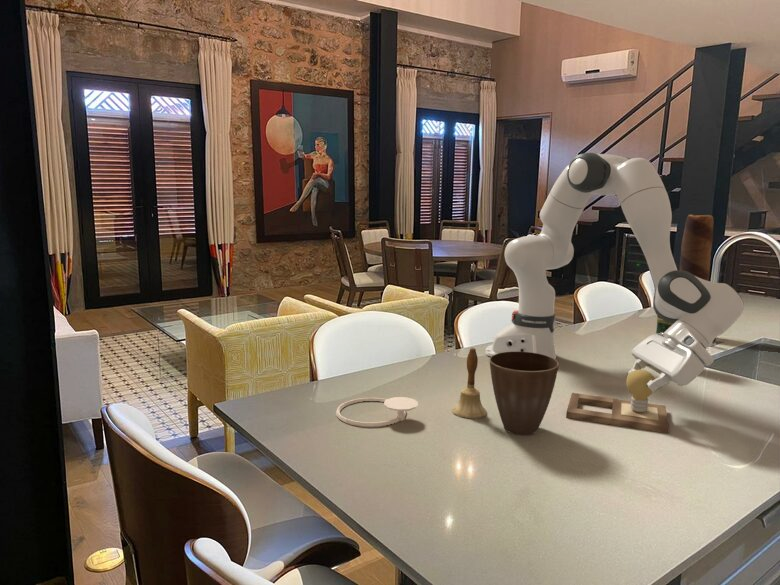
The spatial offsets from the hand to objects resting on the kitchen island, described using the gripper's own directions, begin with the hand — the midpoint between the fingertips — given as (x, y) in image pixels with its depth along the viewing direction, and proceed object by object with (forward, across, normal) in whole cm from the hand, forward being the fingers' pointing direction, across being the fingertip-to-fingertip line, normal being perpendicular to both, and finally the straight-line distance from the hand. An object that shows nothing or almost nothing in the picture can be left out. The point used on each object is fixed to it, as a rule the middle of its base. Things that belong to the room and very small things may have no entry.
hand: (639, 382), depth 136 cm
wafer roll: (-35, -75, +48) cm, 95 cm away
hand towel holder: (+50, -5, -37) cm, 62 cm away
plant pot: (+28, +5, -15) cm, 32 cm away
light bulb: (+5, 0, +6) cm, 7 cm away
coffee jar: (-16, -40, +29) cm, 52 cm away
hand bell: (+34, -6, -21) cm, 41 cm away
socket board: (+9, -2, +4) cm, 10 cm away
